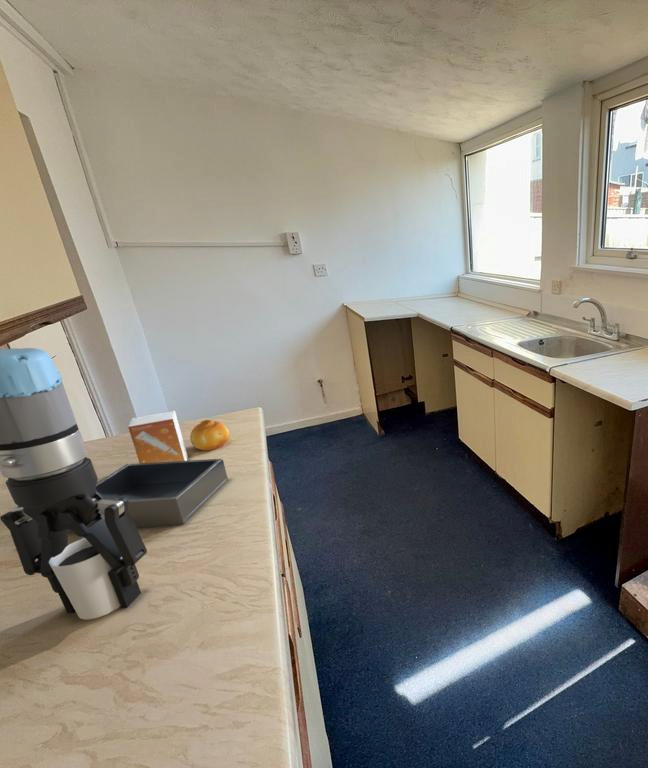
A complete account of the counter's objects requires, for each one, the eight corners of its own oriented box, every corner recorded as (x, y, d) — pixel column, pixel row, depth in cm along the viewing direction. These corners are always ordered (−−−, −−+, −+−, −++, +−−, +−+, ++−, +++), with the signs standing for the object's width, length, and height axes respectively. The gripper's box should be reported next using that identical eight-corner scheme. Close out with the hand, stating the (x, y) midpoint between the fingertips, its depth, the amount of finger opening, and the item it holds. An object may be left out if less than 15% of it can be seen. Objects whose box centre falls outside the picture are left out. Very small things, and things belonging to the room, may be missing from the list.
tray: (70, 534, 74) (58, 506, 72) (134, 487, 89) (126, 464, 87) (184, 525, 76) (176, 498, 74) (228, 481, 91) (222, 458, 89)
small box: (143, 477, 93) (126, 426, 89) (147, 466, 98) (131, 417, 93) (187, 466, 97) (173, 418, 93) (188, 456, 102) (175, 410, 98)
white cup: (120, 581, 63) (99, 529, 60) (146, 593, 61) (126, 539, 58) (63, 615, 57) (37, 559, 54) (90, 629, 55) (65, 572, 52)
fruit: (211, 448, 101) (214, 417, 103) (180, 451, 101) (183, 420, 103) (234, 450, 109) (236, 421, 111) (205, 452, 109) (208, 423, 111)
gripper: (-74, 488, 47) (4, 633, 54) (107, 476, 49) (158, 617, 57) (-5, 457, 54) (56, 590, 61) (151, 449, 57) (192, 577, 64)
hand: (105, 603), depth 59 cm, fingers open, 6 cm apart
